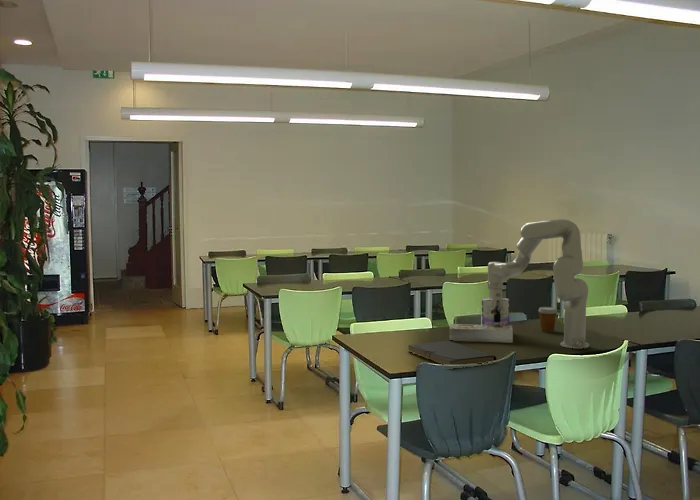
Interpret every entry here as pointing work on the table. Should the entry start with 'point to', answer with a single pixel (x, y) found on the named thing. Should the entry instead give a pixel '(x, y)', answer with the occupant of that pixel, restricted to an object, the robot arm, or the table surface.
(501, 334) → the label stand
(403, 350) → the table surface
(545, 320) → the disposable coffee cup
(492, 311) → the candy box
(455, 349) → the file folder
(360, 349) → the table surface
